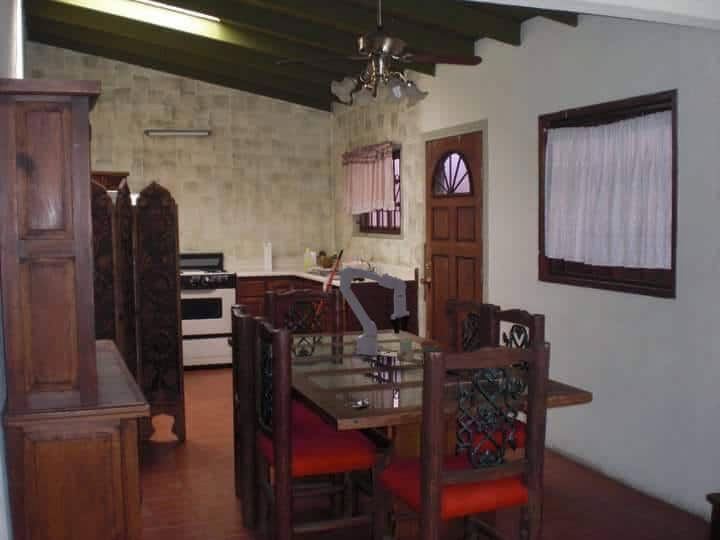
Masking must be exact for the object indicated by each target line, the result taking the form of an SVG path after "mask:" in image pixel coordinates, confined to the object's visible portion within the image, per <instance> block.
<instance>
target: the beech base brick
mask: <svg viewBox="0 0 720 540" xmlns="http://www.w3.org/2000/svg"><path fill="white" fill-rule="evenodd" d="M414 355H415V352H414V350H412V351H411V352H400V350H398V351H397V357H396V360H397V361H401V360H402V362H403V361H405V362H410V361H413V360H414V359H415V358H414V357H415V356H414Z"/></svg>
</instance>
